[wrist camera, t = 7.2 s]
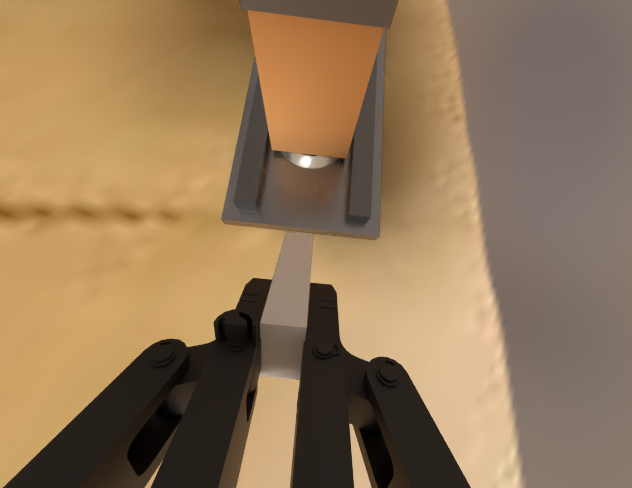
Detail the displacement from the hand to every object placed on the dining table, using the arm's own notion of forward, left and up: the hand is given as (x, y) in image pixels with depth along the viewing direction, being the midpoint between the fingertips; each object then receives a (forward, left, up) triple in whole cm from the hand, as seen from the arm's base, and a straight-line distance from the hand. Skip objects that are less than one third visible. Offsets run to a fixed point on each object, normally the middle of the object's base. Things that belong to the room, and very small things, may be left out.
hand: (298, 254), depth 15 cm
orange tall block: (-11, +3, -4) cm, 12 cm away
